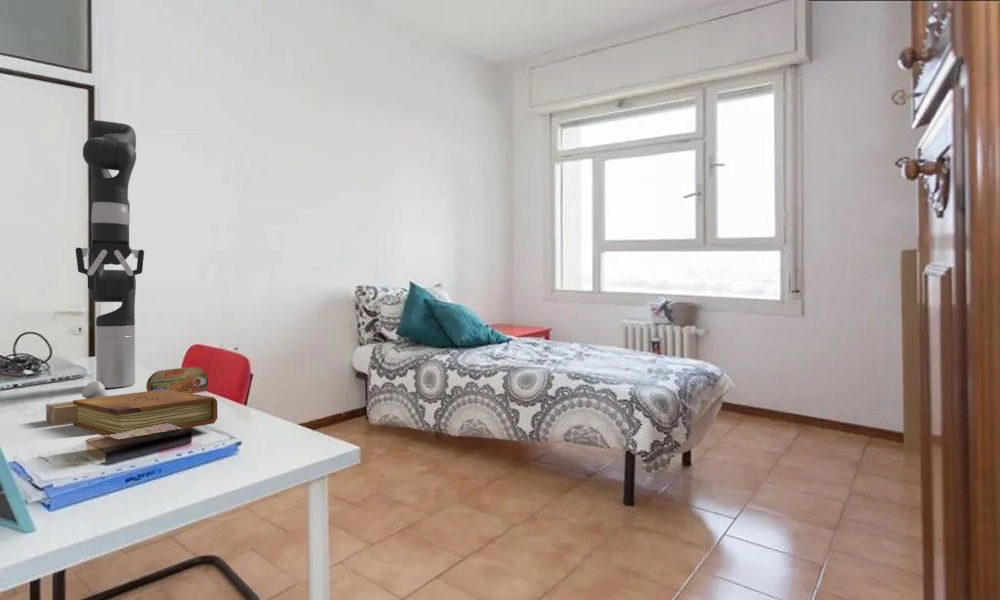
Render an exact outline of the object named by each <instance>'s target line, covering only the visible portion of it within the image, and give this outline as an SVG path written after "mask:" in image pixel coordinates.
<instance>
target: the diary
mask: <svg viewBox="0 0 1000 600" xmlns="http://www.w3.org/2000/svg"><path fill="white" fill-rule="evenodd" d="M72 401H73V405H77V406H78V422H73V423H72V425H73V426H74V427H78V428H81V429H84V430H87V431H91V432H94V433H98V434H99V435H100V436H103V437H106V436H105V435H111V434H116V433H123V432H127V431H131V430H136V429H141V428H145V427H151V426H154V425H159V424H166V423H168V424H172V425H175V426H177V427H180V428H184V429H190V428H194V427H201V426H206V425H212V424H215V422H216V421H217V420H218V400H217V399H216V398H215V397H214V396H210V395H209V396H207V395H202V394H201V395H200V394H196V393H192V394H190V393H183V392H177V391H170V390H164V389H163V390H155V391H147V390H146V391H140V392H131V393H122V394H116V395H109V396H105V397H97V398H88V399H86V398H81V399H80V398H79V399H73V400H72ZM184 429H183V430H184Z"/></svg>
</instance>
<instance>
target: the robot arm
mask: <svg viewBox="0 0 1000 600" xmlns="http://www.w3.org/2000/svg"><path fill="white" fill-rule="evenodd" d="M136 146H137V137H136V132H135V129H134V128H133V127H132V126H131V125H129V124H127V123H122V122H120V123H119V122H114V121H109V120H107V121H105V120H99V119H98V120H95V119H94V120H92V121H90V124H89V127H88V139H87V140H86V141H85V143H84V144H83V148H82V156H83V159H84V161H85V163H86V164H87V165H88V166H89V167H90V176H91V178H90V179H91V180H90V181H91V183H90V230H91V231H90V234H91V235H90V236H91V245H90V247H76V248H75V257H76V265H77V266H76V267H77V272H78V273H80V274H84V275H86V276H87V288H88V290H89V295H90V298H91V300H92V301H93V302H96V303H121V305H120V306H119V307H118V308H116V309H115V310H112V311H110V312H106V313H103V314H101V315H98V316H96V319H95V336H96V337H95V338H96V339H95V341H96V342H95V347H96V348H95V353H96V355H95V356H96V357H95V358H96V359H95V360H96V361H95V374H96V378H95V379H96V380H95V381H100V382H101V384H103V385H104V387H105V389H108V388H109V389H110V388H121V387H123V388H124V387H130V386H135V385H134V384H136V319H135V316H136V315H135V308H136V307H135V305H136V289H137V287H136V286H137V281H136V275H140V274H142V273H143V268H144V267H143V265H144V256H145V251H144V249H133V248H131V246H130V218H131V217H130V215H131V213H130V208H131V207H130V201H129V194H128V193H129V183H130V180H131V179H130V178H131V175H132V172H133V169H134V167H135V165H136V161H137V152H136V148H137V147H136ZM110 170H111V171H118V173H117V174H116V175H114V176H113V175H112V173H111V172H110ZM88 253H90V255H91V256H90V266H89V269H87V268H85V260H84V257H87V256H88ZM131 254H132V255H133V257H134V259H137V260H136V261H137V263H136V269H133V270H132V268H131V267H130V265H129V263H128V262H127V259H128V258H129V256H130V255H131ZM105 265H113V266H119V265H121V267H122V268H123V269H105Z"/></svg>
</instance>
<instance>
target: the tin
mask: <svg viewBox="0 0 1000 600" xmlns="http://www.w3.org/2000/svg"><path fill="white" fill-rule="evenodd" d="M208 385H209V377H208V374H207V373H206V371H205V370H204V369H202V368H201V367H198V366H188V367H180V368H171V369H170V368H169V369H162V370H158V371H155V372H154V373H152V374H151V375H150V376H149V377H148V379H147V380H146V385H145V386H146V387H145V388H146V392H147V391H155V390H163V389H164V390H170V391H177V392H183V393H190V394H196V393H197V394H198V393H202V392H206V390H207V388H208Z"/></svg>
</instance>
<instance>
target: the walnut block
mask: <svg viewBox="0 0 1000 600" xmlns="http://www.w3.org/2000/svg"><path fill="white" fill-rule="evenodd" d="M45 413H46V414H45V421H46V422H48V423H49V424H51V425H53V426H54V427H55V426H62V425H63V426H64V425H70V424H73V422H78V406H77V405H73V400H72V401H64V402H55V403H54V402H53V403H46V404H45Z"/></svg>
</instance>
